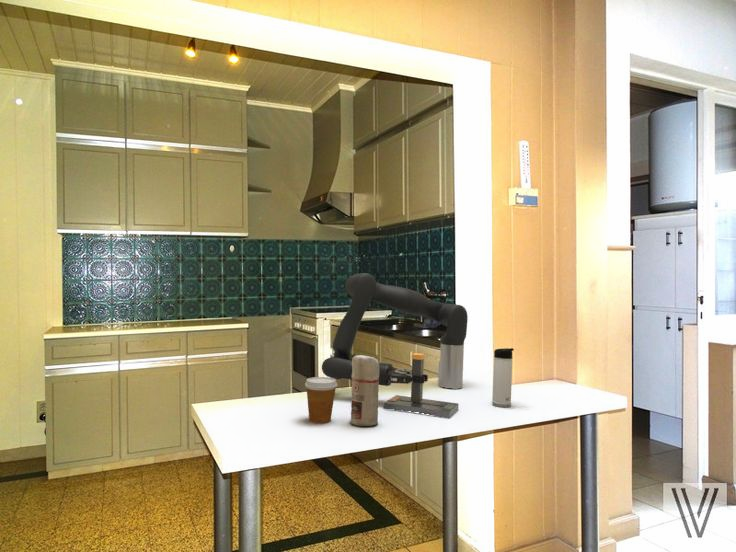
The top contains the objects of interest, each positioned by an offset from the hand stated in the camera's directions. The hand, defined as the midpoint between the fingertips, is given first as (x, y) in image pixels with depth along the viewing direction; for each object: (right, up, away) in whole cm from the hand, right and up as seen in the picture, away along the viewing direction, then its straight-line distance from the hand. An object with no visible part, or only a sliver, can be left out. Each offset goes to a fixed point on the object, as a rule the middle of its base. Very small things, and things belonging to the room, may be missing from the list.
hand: (425, 379), depth 162 cm
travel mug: (+28, -11, +9) cm, 31 cm away
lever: (-3, -7, +1) cm, 8 cm away
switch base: (-1, -10, 0) cm, 10 cm away
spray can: (-20, -9, -18) cm, 29 cm away
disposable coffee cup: (-33, -9, -16) cm, 38 cm away
